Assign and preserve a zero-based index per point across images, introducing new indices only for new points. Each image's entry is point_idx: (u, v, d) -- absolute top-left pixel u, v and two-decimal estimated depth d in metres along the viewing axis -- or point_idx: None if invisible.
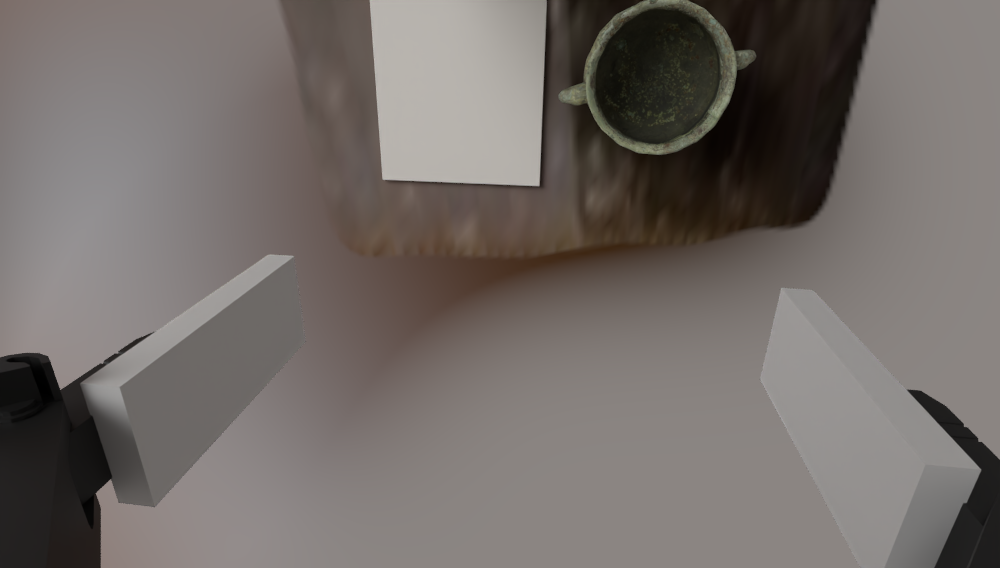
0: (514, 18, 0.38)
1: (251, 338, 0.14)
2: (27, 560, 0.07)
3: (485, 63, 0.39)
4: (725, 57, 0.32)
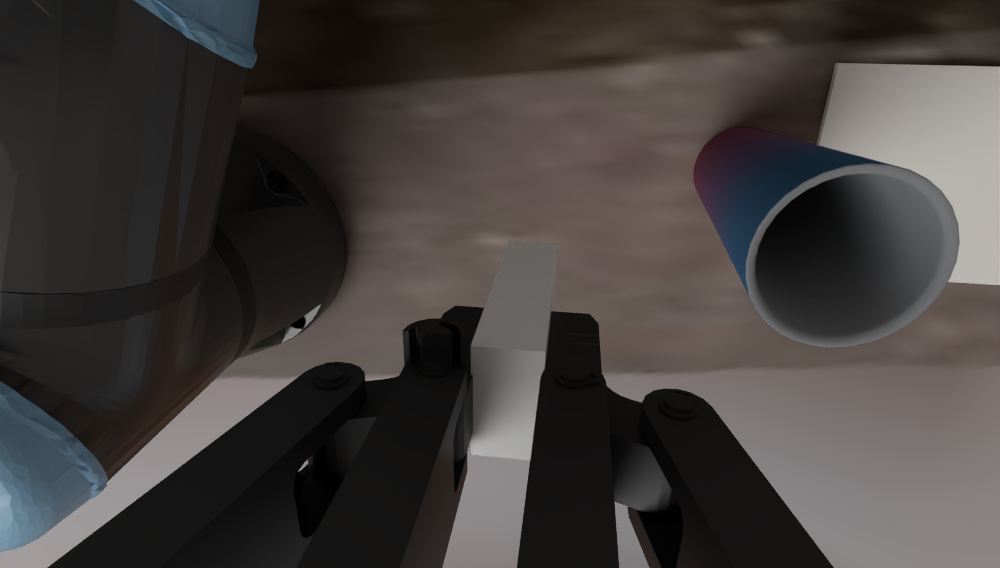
0: (922, 107, 0.30)
1: None
2: (400, 519, 0.07)
3: (966, 146, 0.31)
4: None
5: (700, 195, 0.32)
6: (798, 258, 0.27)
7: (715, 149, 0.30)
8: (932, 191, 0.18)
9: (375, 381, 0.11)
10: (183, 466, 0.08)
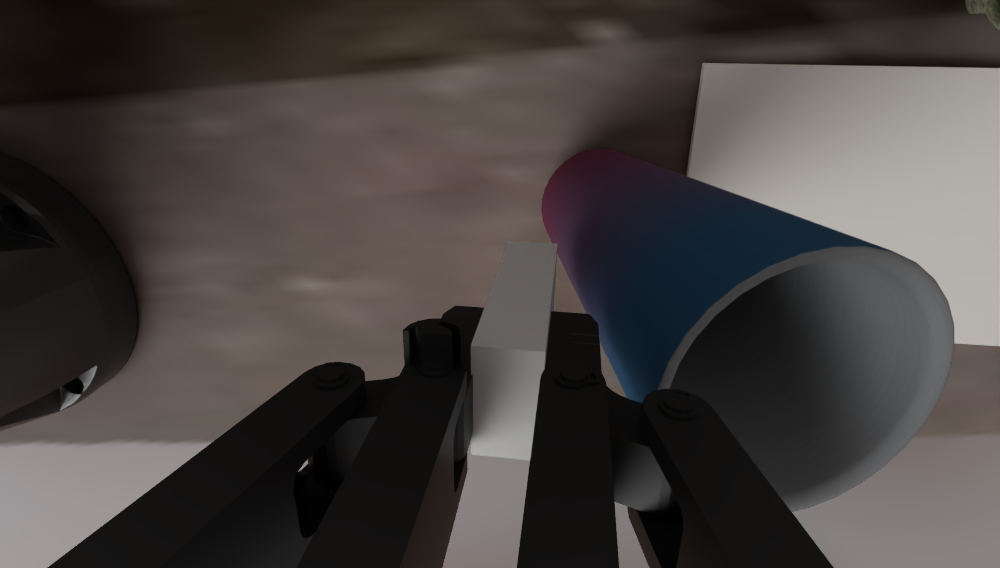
0: (815, 119, 0.23)
1: None
2: (401, 519, 0.07)
3: (874, 169, 0.24)
4: None
5: None
6: None
7: (567, 184, 0.22)
8: (922, 281, 0.11)
9: (375, 381, 0.11)
10: (183, 466, 0.08)
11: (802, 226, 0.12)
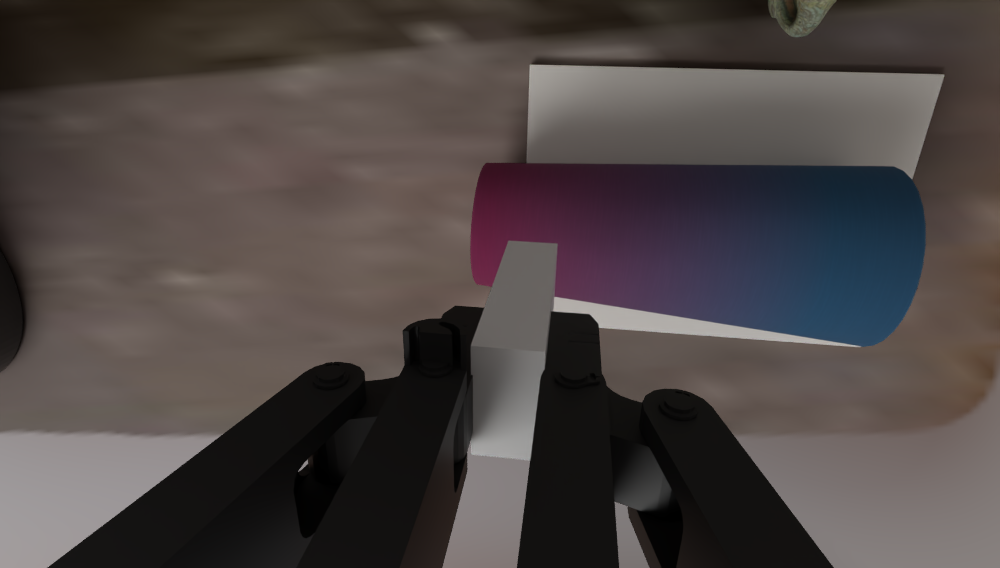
0: (640, 120, 0.24)
1: None
2: (400, 519, 0.07)
3: None
4: None
5: None
6: None
7: (544, 206, 0.21)
8: None
9: (375, 381, 0.11)
10: (183, 466, 0.08)
11: (853, 167, 0.20)
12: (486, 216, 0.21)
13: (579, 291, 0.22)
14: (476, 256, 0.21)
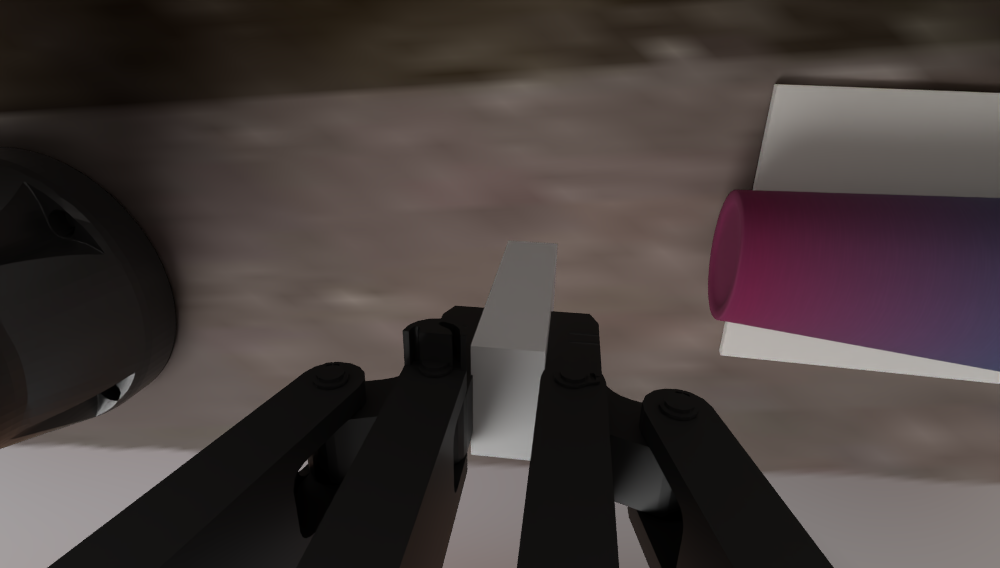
0: (894, 146, 0.22)
1: None
2: (400, 519, 0.07)
3: None
4: None
5: (807, 314, 0.20)
6: None
7: (826, 241, 0.19)
8: None
9: (375, 381, 0.11)
10: (183, 466, 0.08)
11: None
12: (758, 250, 0.19)
13: (850, 333, 0.20)
14: (739, 292, 0.20)
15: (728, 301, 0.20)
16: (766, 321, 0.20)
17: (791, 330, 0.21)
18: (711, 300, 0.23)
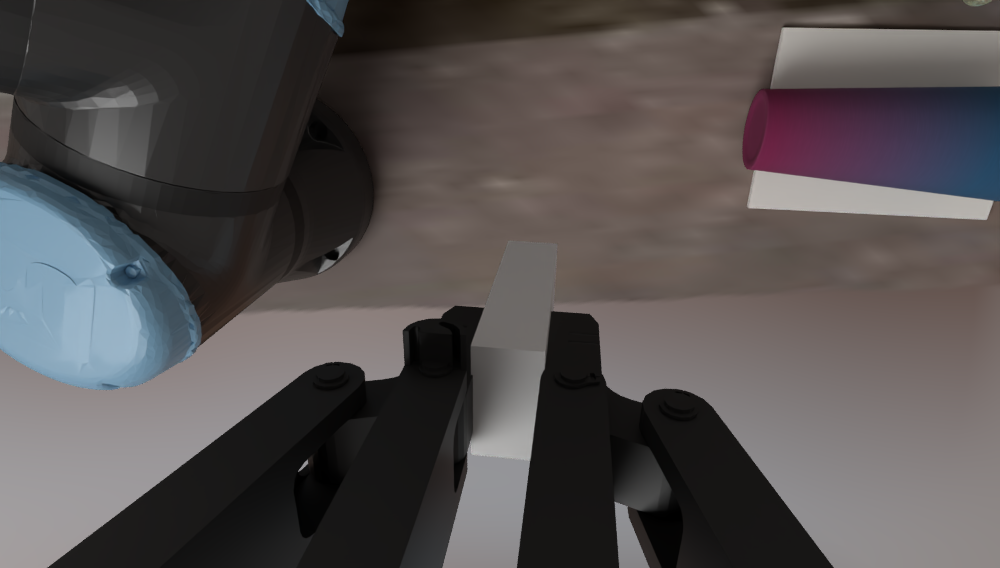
0: (853, 64, 0.37)
1: None
2: (400, 519, 0.07)
3: None
4: None
5: (805, 155, 0.34)
6: None
7: (815, 111, 0.34)
8: None
9: (375, 381, 0.11)
10: (183, 466, 0.08)
11: None
12: (777, 118, 0.34)
13: (829, 166, 0.35)
14: (766, 144, 0.34)
15: (759, 151, 0.35)
16: (781, 163, 0.35)
17: (795, 169, 0.35)
18: (746, 161, 0.38)
